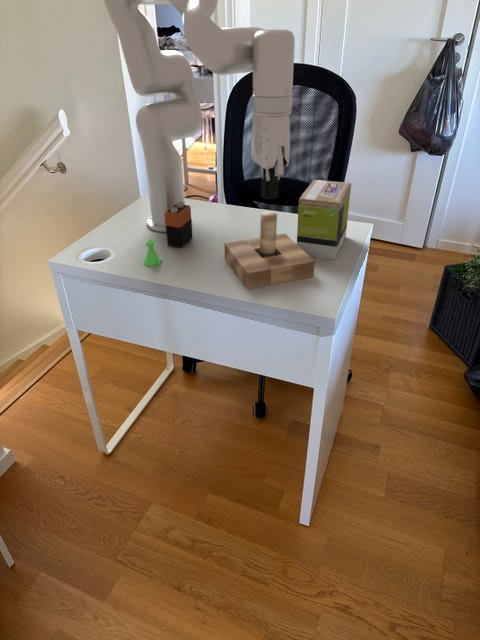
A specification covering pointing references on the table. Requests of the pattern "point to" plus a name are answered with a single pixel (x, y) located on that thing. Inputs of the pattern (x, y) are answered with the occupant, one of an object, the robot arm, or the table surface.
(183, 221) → the battery
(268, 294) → the table surface
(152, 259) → the game piece
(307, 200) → the tea box
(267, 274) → the board
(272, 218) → the peg
